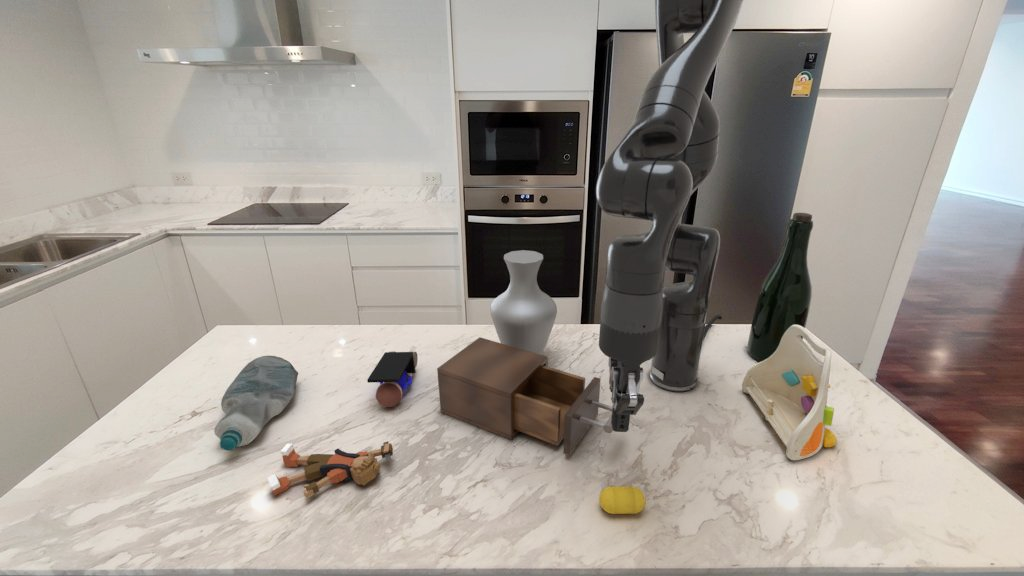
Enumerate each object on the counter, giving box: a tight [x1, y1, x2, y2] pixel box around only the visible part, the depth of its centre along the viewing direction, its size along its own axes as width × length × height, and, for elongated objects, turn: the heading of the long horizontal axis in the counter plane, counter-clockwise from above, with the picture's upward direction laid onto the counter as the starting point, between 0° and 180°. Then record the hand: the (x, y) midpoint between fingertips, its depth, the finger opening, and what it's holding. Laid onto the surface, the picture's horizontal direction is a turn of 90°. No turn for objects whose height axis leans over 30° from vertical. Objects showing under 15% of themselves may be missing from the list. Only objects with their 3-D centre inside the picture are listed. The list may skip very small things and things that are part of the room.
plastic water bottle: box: [213, 355, 299, 451], centre depth 90 cm, size 13×7×25 cm
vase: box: [489, 249, 558, 355], centre depth 104 cm, size 14×14×25 cm
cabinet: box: [436, 336, 549, 441], centre depth 92 cm, size 16×14×10 cm
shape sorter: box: [741, 325, 837, 461], centre depth 84 cm, size 20×10×18 cm, turn 177°
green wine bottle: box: [746, 212, 814, 362], centre depth 103 cm, size 10×10×33 cm
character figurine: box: [267, 441, 394, 499], centre depth 76 cm, size 12×5×18 cm
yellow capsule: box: [598, 485, 646, 515], centre depth 70 cm, size 7×4×4 cm, turn 90°
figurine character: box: [366, 351, 419, 408], centre depth 98 cm, size 7×8×15 cm
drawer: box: [513, 365, 614, 456], centre depth 85 cm, size 20×13×8 cm, turn 59°
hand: (619, 428), depth 68 cm, fingers closed
